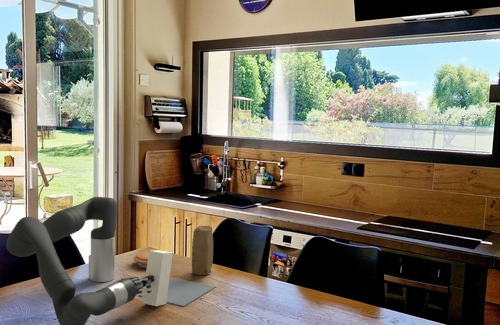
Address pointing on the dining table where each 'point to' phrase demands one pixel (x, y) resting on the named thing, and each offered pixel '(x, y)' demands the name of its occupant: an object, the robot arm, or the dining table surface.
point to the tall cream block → (158, 277)
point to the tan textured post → (202, 250)
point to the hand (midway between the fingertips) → (152, 278)
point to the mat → (184, 291)
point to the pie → (142, 259)
